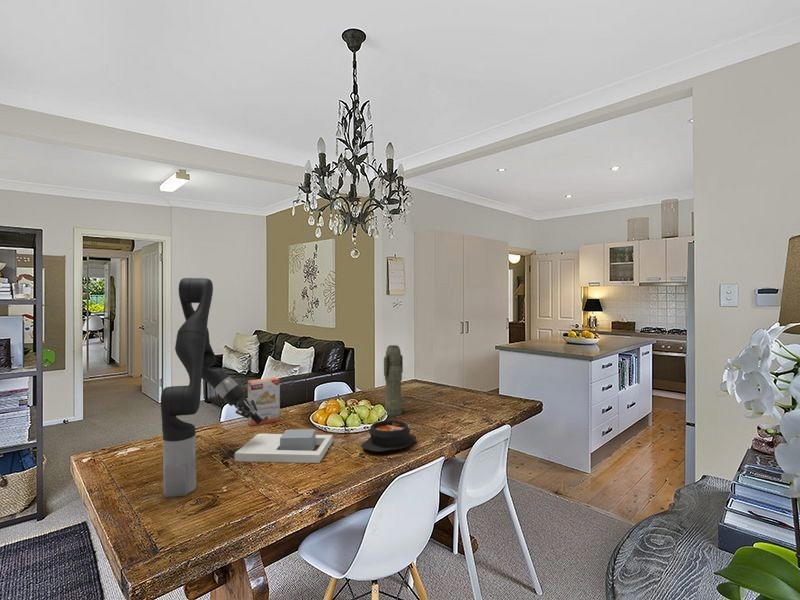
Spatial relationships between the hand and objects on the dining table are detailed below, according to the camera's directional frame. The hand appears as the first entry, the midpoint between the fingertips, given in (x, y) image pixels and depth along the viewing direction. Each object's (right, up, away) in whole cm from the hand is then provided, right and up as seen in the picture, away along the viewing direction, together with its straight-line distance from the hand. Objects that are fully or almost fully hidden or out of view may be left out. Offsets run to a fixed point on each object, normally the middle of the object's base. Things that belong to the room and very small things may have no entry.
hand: (260, 422), depth 169 cm
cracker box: (-10, -11, +37) cm, 40 cm away
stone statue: (+52, -10, +51) cm, 74 cm away
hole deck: (+10, -11, 0) cm, 15 cm away
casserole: (+51, -11, +5) cm, 53 cm away
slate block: (+15, -11, 0) cm, 19 cm away
